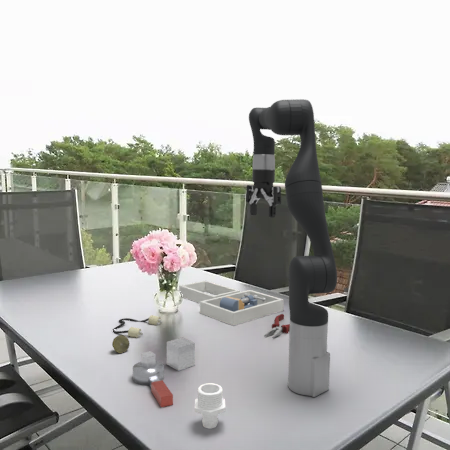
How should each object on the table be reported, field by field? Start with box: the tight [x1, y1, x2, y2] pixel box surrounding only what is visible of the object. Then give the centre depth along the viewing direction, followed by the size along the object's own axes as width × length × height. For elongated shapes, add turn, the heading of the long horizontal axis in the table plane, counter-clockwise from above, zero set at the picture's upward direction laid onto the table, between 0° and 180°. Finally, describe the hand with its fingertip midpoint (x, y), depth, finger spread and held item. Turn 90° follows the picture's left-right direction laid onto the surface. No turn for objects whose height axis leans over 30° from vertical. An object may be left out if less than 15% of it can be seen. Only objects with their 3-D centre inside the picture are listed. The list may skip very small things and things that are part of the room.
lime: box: [111, 334, 130, 354], centre depth 134 cm, size 4×5×5 cm
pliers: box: [263, 313, 290, 339], centre depth 154 cm, size 12×21×3 cm, turn 147°
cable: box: [112, 314, 163, 339], centre depth 154 cm, size 16×16×4 cm
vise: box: [220, 293, 266, 312], centre depth 173 cm, size 18×10×7 cm, turn 139°
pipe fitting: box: [194, 382, 226, 430], centre depth 96 cm, size 6×7×8 cm
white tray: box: [199, 289, 285, 327], centre depth 173 cm, size 18×26×4 cm
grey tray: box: [178, 280, 241, 304], centre depth 190 cm, size 22×14×4 cm, turn 42°
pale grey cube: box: [166, 336, 196, 372], centre depth 125 cm, size 6×6×6 cm
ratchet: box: [132, 350, 174, 408], centre depth 112 cm, size 20×8×6 cm, turn 25°
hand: (262, 216), depth 155 cm, fingers open, 8 cm apart
